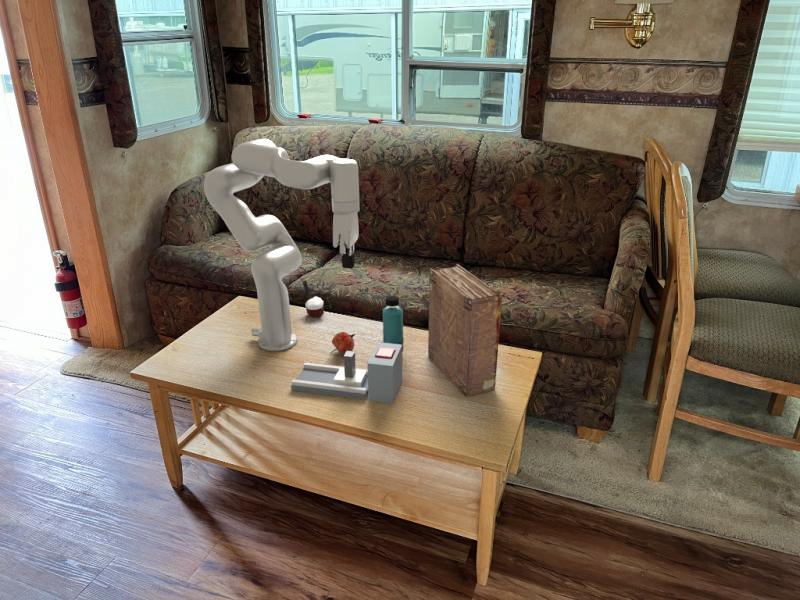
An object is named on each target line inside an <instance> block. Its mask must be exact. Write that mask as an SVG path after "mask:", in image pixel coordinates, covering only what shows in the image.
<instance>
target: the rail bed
mask: <svg viewBox="0 0 800 600" xmlns="http://www.w3.org/2000/svg"><path fill="white" fill-rule="evenodd" d="M302 366H303V367H302V369H301V371H300V373H299V374H298V376H297V377H296V379H292V380H291V386H290V390H291V391H292V392H298V393H299V392H300V393H309V394H316V395H323V394H324V395H325V396H330V397H331V396H332V397H341V398H349V399H355V400H363V401H366V400H367V397H368V396H369V394H368V369H363V368H358V367H356V370H365V371H367V377H366V379H365V381H364V383H363V385H362V387H353V386H345V385H336V384H334V378H335V376H336V374H337V373H338V371H339V369H340V368H344V366H339V365H331V364H320V363H312V362H303V365H302Z"/></svg>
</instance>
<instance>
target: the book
mask: <svg viewBox="0 0 800 600" xmlns="http://www.w3.org/2000/svg"><path fill="white" fill-rule="evenodd" d="M428 275H429V279H428V280H429V287H428V291H429V292H428V297H429V298H428V339H427V340H428V342H427V343H428V345H427V349H428V350H427V356H428V358H429V359H430V360H431V361H432V362H433V363H434V364H435V366H437V368H439V370H440V371H441V372H442V373H443V374H445V376H446V377H447V378H448V379H449V380H450V381H451V382H452V383H453V384H454V385H455V386H456V387H457V389H459V391H461V392H462V394H464V396H466V397H467V398H468V397H471V396H475V395H479V394H483V393H486V392H487V393H488V392H490V391H495V389H496V381H497V368H498V356H499V345H500V343H499V342H500V327H501V317H502V316H501V315H502V303H503V296H502V294H500V293H499V292H497V291H496V290H495V289H494V288H492V287H491V286H489V285H488V284H487V283H485V282H484V281H482V280H481V279H479V278H478V277H477V276H476V275H474V274H472V273H471V272H469V270H467V269H466V268H464V267H462V266H461V265H460V264H458V263H456V264H455V266H453V267H452V266H451V267H447V268H441V269H436V270H434V268H429V274H428ZM466 397H465V398H466Z"/></svg>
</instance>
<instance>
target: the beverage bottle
mask: <svg viewBox="0 0 800 600" xmlns="http://www.w3.org/2000/svg"><path fill="white" fill-rule="evenodd" d="M399 298H400V297H398V296H397V295H388V296H386V297H385V307H384V308H383V309H382V343H391V344H400V345H402V353H403V351H404V348H405V347H404V338H405V337H404V332H405V331H404V319H403V318H404V316H403V315H404V311H403V309H402V308H401V306H399V305H400V301H399V300H400V299H399Z"/></svg>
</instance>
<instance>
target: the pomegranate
mask: <svg viewBox="0 0 800 600" xmlns="http://www.w3.org/2000/svg"><path fill="white" fill-rule="evenodd" d="M354 336H356V333H352V334H349V333H348V332H346V331H341V332H338V333H336V334H335V335H334V336H333V338H332V340H331V343H332V345H333V346H334V347H335V349H334V350H332V351H331V352H330V354H332V353H333V352H335V351H338V352H339V353H341V355H343V356H344V355H345V353H346V351H353V350H354V348H355V340H354V338H353V337H354Z"/></svg>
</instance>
